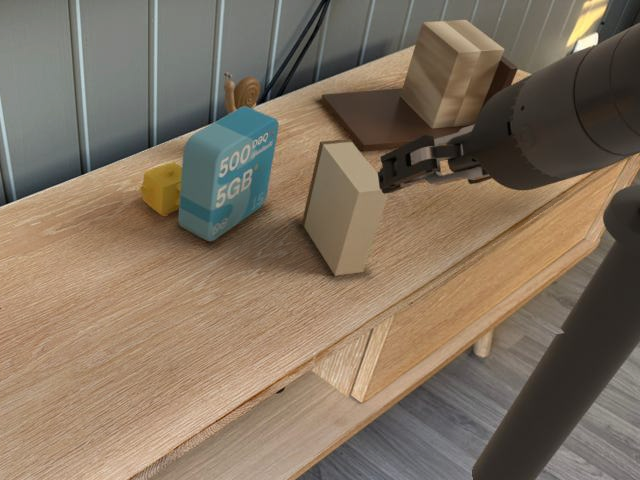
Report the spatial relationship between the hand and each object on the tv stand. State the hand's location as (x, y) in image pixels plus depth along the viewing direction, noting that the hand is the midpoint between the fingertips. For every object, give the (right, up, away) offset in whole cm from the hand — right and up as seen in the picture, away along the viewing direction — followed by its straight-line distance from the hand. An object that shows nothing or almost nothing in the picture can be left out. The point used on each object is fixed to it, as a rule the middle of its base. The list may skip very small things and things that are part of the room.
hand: (427, 177), depth 63 cm
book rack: (+12, +20, +43) cm, 48 cm away
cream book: (-4, -3, +20) cm, 21 cm away
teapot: (-23, +2, +24) cm, 33 cm away
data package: (-16, +1, +24) cm, 29 cm away
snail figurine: (-14, +12, +34) cm, 38 cm away
